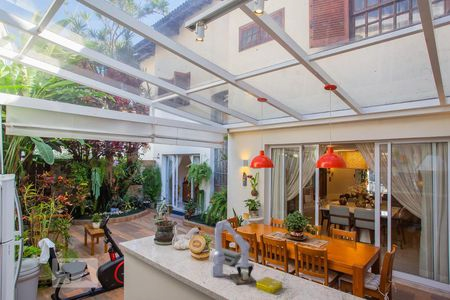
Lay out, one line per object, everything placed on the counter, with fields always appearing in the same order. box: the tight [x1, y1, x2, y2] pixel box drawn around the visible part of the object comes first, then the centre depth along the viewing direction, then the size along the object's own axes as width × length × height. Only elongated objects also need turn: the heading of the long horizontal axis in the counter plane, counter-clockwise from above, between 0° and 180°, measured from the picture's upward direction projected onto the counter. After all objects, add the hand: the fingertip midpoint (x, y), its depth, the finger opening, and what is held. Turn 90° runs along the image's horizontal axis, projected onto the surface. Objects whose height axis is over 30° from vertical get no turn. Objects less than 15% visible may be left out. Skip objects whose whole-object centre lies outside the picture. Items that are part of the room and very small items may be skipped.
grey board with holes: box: [229, 271, 257, 286], centre depth 212 cm, size 16×17×2 cm
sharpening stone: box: [222, 247, 241, 267], centre depth 247 cm, size 25×8×11 cm, turn 48°
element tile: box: [255, 276, 283, 295], centre depth 198 cm, size 15×15×5 cm
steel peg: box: [241, 270, 248, 281], centre depth 208 cm, size 4×4×7 cm
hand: (244, 276), depth 208 cm, fingers open, 7 cm apart
